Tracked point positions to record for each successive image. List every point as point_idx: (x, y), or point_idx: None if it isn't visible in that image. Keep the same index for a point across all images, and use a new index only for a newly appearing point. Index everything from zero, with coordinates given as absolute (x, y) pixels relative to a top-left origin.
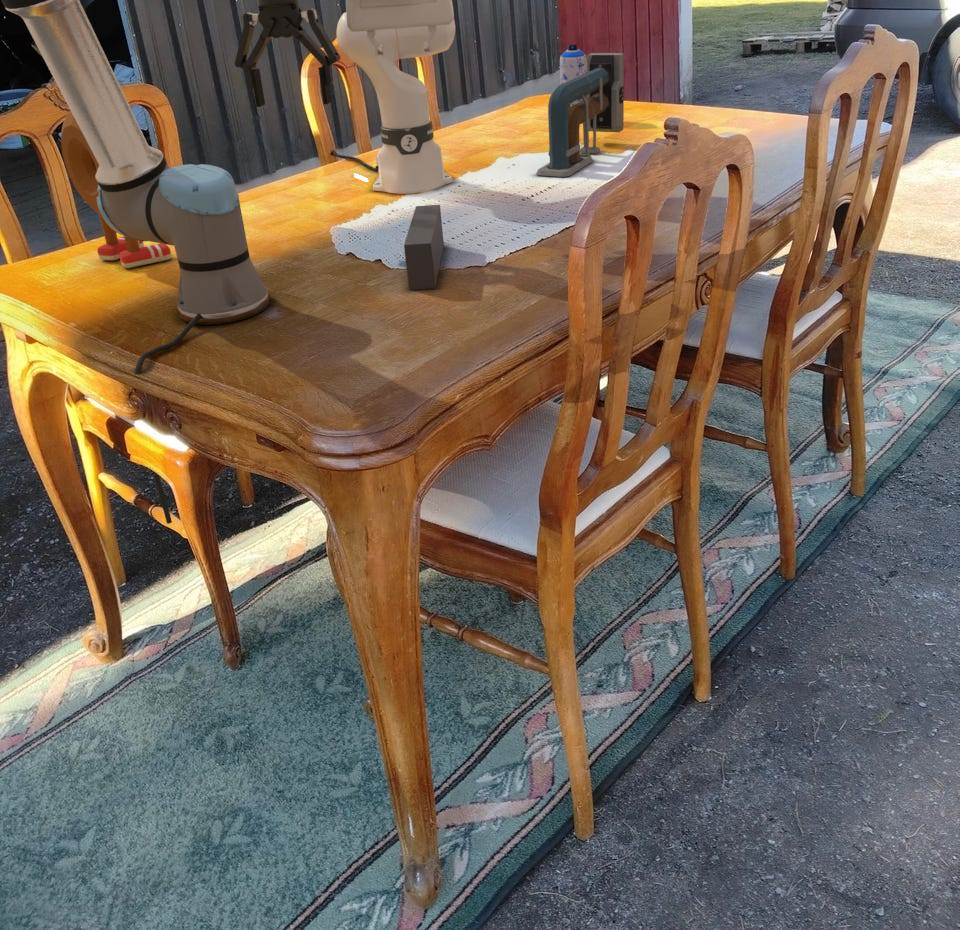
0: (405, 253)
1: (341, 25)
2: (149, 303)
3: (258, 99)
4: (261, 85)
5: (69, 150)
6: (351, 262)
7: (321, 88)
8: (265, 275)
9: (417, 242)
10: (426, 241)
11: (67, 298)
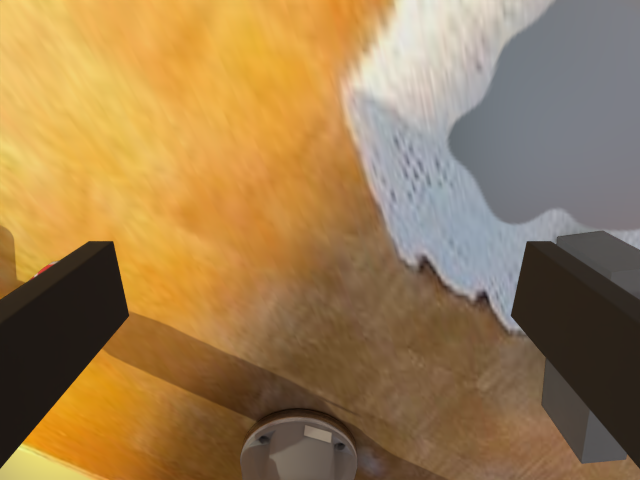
0: (573, 451)
1: None
2: (182, 435)
3: (106, 341)
4: (37, 309)
5: None
6: (436, 303)
7: (562, 373)
8: (305, 351)
9: (604, 456)
10: (619, 453)
11: (43, 419)
